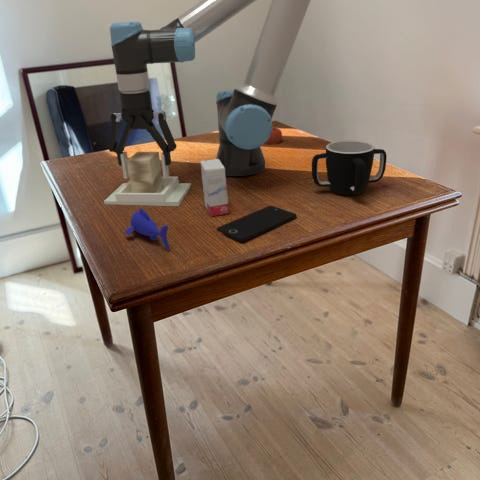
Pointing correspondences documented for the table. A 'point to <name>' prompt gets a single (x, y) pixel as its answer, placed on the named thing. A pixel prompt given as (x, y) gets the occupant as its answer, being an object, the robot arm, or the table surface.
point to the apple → (274, 136)
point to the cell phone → (256, 223)
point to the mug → (349, 166)
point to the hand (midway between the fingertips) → (146, 176)
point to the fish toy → (147, 227)
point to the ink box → (214, 187)
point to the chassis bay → (151, 194)
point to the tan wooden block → (145, 172)
